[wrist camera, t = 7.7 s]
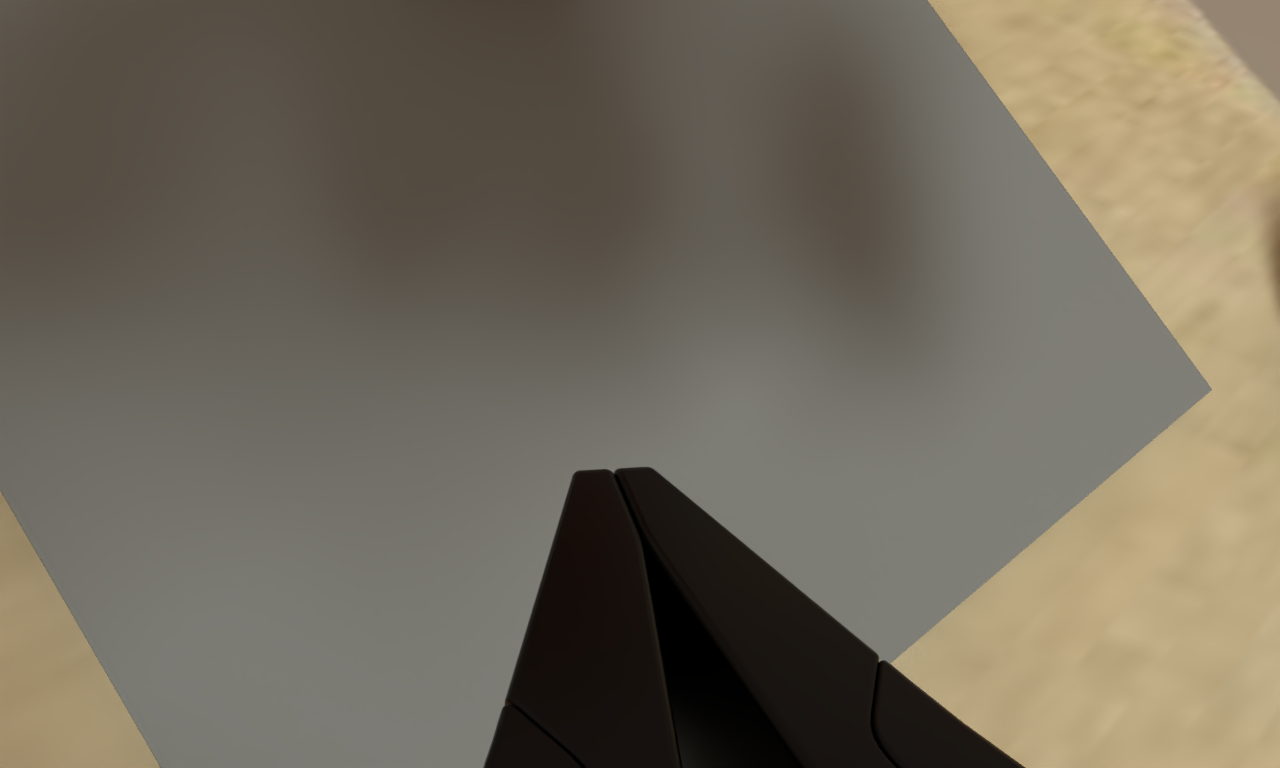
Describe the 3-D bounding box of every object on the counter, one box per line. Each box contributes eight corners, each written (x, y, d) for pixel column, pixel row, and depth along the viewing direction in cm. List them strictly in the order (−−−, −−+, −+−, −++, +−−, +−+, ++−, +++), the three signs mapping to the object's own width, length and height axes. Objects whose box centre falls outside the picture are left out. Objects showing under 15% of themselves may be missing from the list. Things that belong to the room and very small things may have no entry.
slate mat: (1190, 395, 20) (1212, 389, 19) (365, 1090, 13) (361, 1113, 13) (603, -411, 22) (607, -437, 21) (-361, -160, 15) (-393, -189, 15)
